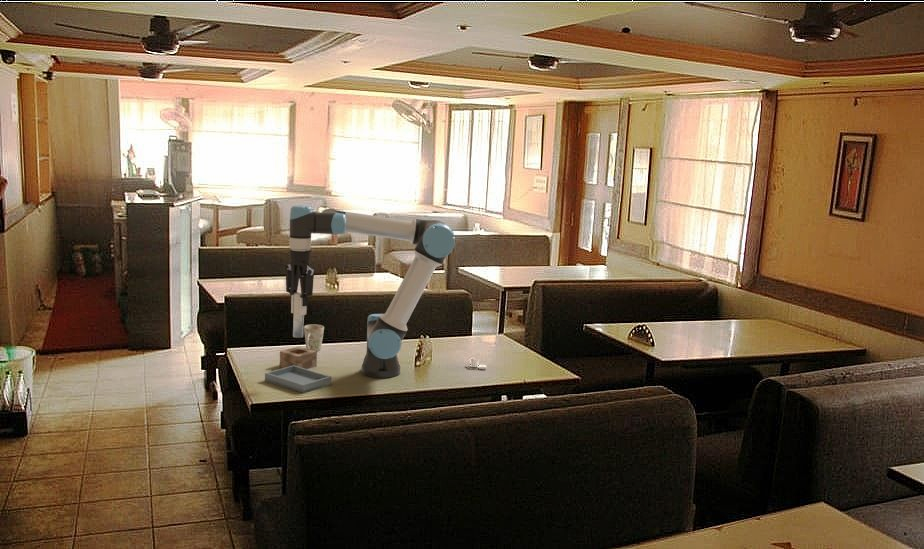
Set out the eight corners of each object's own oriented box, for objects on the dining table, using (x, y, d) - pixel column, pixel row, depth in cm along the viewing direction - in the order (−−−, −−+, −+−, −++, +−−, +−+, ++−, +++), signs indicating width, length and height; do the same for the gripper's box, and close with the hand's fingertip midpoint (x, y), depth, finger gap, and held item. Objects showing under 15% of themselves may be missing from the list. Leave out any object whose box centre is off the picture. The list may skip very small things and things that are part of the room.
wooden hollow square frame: (316, 366, 300) (316, 351, 299) (297, 371, 292) (297, 356, 291) (298, 361, 305) (299, 346, 304) (279, 366, 297) (279, 351, 296)
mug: (325, 347, 326) (326, 325, 325) (317, 355, 314) (318, 332, 312) (306, 346, 327) (307, 323, 325) (297, 354, 315) (298, 330, 313)
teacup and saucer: (489, 370, 308) (489, 360, 307) (472, 372, 304) (473, 362, 303) (477, 364, 315) (478, 355, 315) (461, 366, 311) (461, 356, 311)
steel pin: (305, 336, 276) (306, 293, 273) (297, 338, 273) (298, 294, 270) (298, 334, 278) (299, 291, 275) (290, 336, 275) (291, 293, 272)
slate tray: (331, 384, 279) (331, 376, 278) (303, 393, 267) (303, 385, 267) (293, 372, 290) (293, 365, 289) (264, 380, 279) (264, 373, 278)
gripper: (324, 251, 269) (322, 316, 273) (291, 245, 278) (290, 308, 282) (308, 253, 263) (307, 319, 267) (276, 247, 272) (275, 311, 276)
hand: (298, 313), depth 274 cm, fingers closed on steel pin, 3 cm apart
